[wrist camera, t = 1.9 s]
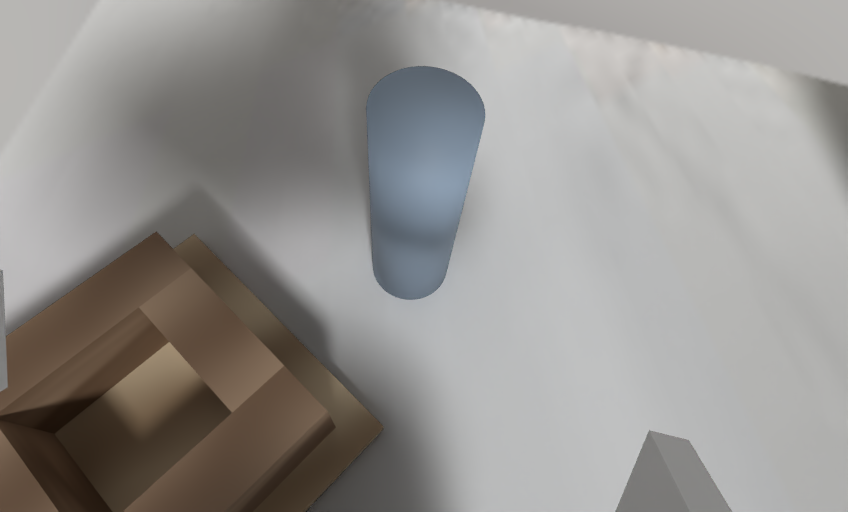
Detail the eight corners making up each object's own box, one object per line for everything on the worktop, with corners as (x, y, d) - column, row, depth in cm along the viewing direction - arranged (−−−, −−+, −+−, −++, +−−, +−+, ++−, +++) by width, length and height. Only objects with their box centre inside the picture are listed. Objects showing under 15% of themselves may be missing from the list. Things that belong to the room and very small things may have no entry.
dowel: (461, 265, 28) (509, 111, 18) (411, 314, 27) (429, 178, 16) (408, 220, 29) (423, 49, 19) (357, 265, 28) (341, 107, 17)
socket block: (383, 429, 24) (383, 409, 20) (110, 718, 19) (31, 775, 15) (199, 241, 28) (165, 190, 24) (-72, 439, 23) (-178, 421, 18)
